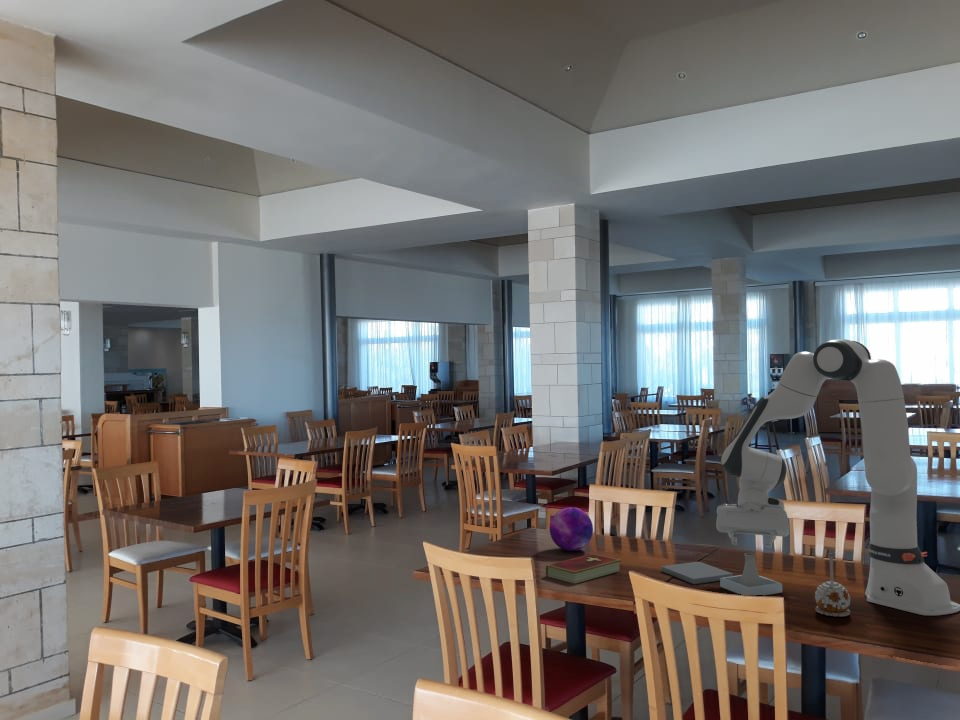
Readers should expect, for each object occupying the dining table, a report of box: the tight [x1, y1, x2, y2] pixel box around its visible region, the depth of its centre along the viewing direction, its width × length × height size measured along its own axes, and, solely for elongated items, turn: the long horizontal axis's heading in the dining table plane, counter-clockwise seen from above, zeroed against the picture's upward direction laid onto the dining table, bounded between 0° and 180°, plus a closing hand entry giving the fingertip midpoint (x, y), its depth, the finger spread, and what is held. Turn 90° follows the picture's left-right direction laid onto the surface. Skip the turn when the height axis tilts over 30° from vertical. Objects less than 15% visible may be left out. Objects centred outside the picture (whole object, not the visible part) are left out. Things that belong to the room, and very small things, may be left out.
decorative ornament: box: [814, 553, 851, 618], centre depth 189 cm, size 8×8×15 cm
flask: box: [739, 552, 763, 587], centre depth 211 cm, size 7×7×10 cm
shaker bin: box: [719, 574, 783, 596], centre depth 211 cm, size 12×12×2 cm
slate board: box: [660, 561, 734, 585], centre depth 227 cm, size 16×14×2 cm
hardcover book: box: [545, 553, 622, 584], centre depth 231 cm, size 12×21×4 cm, turn 130°
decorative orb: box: [549, 506, 594, 552], centre depth 262 cm, size 15×15×15 cm
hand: (751, 545), depth 217 cm, fingers open, 8 cm apart
